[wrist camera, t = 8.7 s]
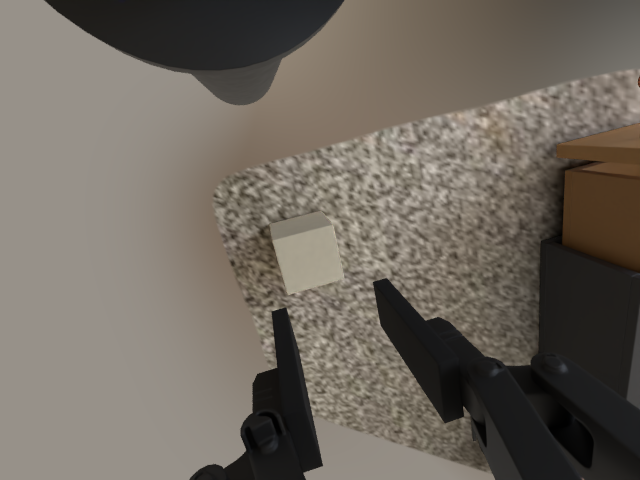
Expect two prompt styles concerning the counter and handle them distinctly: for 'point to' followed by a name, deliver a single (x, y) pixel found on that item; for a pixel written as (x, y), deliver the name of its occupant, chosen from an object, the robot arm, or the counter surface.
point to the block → (306, 251)
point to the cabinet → (591, 316)
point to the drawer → (604, 196)
